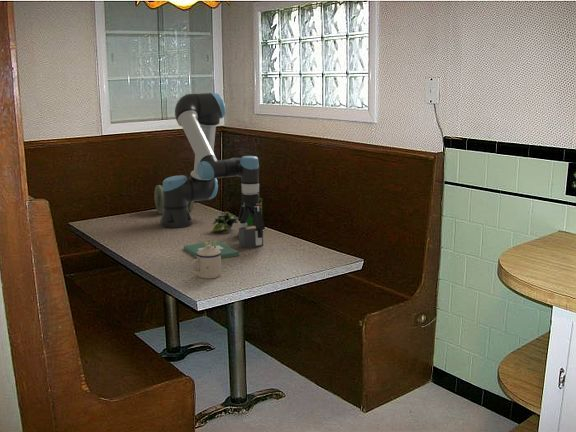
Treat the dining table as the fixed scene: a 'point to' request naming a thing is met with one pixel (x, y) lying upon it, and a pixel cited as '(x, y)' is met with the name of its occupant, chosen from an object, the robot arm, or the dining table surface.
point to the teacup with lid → (208, 262)
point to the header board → (224, 249)
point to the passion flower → (225, 221)
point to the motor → (250, 220)
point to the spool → (159, 200)
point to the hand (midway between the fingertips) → (251, 241)
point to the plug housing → (248, 237)
